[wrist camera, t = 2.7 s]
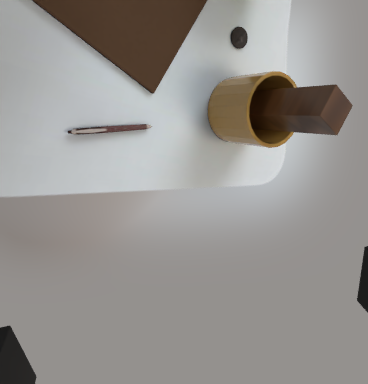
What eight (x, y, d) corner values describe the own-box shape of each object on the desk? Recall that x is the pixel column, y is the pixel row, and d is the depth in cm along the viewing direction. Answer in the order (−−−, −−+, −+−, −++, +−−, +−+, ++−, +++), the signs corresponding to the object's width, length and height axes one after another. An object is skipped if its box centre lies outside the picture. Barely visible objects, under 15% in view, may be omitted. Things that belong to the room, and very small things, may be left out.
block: (221, 114, 51) (319, 115, 36) (233, 92, 51) (336, 84, 36) (237, 128, 53) (337, 135, 38) (249, 106, 53) (353, 105, 38)
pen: (67, 135, 41) (69, 135, 40) (66, 128, 41) (68, 129, 40) (151, 129, 46) (154, 129, 45) (151, 123, 46) (154, 123, 45)
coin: (249, 39, 51) (239, 22, 50) (250, 39, 51) (240, 22, 49) (238, 52, 51) (227, 36, 49) (239, 52, 50) (228, 36, 49)
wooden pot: (196, 119, 50) (234, 121, 42) (228, 63, 50) (270, 55, 43) (239, 153, 55) (279, 160, 47) (267, 102, 56) (311, 100, 48)
